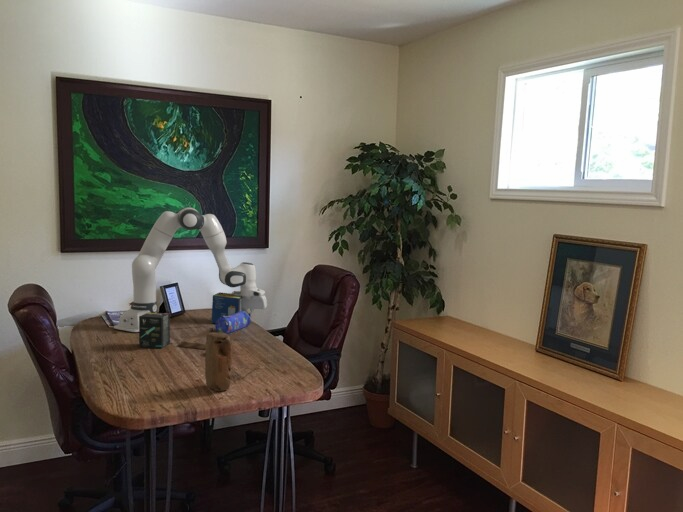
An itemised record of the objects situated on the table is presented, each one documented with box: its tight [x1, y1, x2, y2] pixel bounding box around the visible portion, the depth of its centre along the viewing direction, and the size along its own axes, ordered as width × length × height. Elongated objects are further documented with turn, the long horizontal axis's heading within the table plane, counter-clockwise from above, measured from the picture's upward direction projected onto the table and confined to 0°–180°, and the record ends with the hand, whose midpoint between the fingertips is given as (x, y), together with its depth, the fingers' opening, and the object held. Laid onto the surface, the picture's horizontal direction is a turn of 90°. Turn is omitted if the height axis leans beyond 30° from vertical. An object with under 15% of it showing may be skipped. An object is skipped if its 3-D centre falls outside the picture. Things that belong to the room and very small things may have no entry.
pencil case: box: [214, 311, 251, 335], centre depth 290 cm, size 22×9×10 cm, turn 156°
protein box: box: [211, 292, 245, 324], centre depth 307 cm, size 10×15×16 cm
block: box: [204, 331, 233, 392], centre depth 203 cm, size 11×8×20 cm
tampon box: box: [138, 312, 171, 349], centre depth 256 cm, size 11×9×15 cm
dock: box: [180, 327, 242, 350], centre depth 269 cm, size 16×29×2 cm, turn 166°
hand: (249, 316), depth 307 cm, fingers closed
